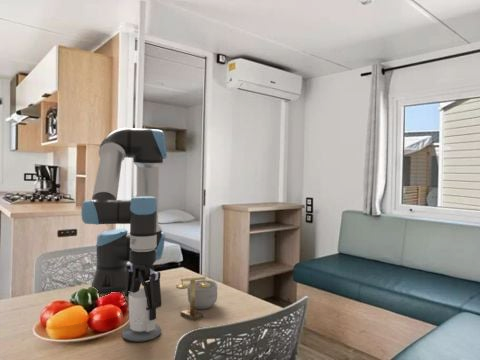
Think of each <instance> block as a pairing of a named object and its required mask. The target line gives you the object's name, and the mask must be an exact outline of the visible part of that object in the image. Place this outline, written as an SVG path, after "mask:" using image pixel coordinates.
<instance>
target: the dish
mask: <svg viewBox="0 0 480 360" xmlns="http://www.w3.org/2000/svg"><path fill="white" fill-rule="evenodd" d="M161 332H162V327H161V326H160V325H158V324H157V323H155V329H154V330H151V331H149V332H146V331H142V332H138V331H133V330H132V329H131V328H130V325H129V326H126V327H125V328H124V329H122V333H121V334H122V337H123V338H124V339H125V340H127V341H131V342H135V343H136V342H137V343H139V342H142V343H143V342H147V341H150V340H153V339H155V338H157V337H158V336H159V335H161Z"/></svg>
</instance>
